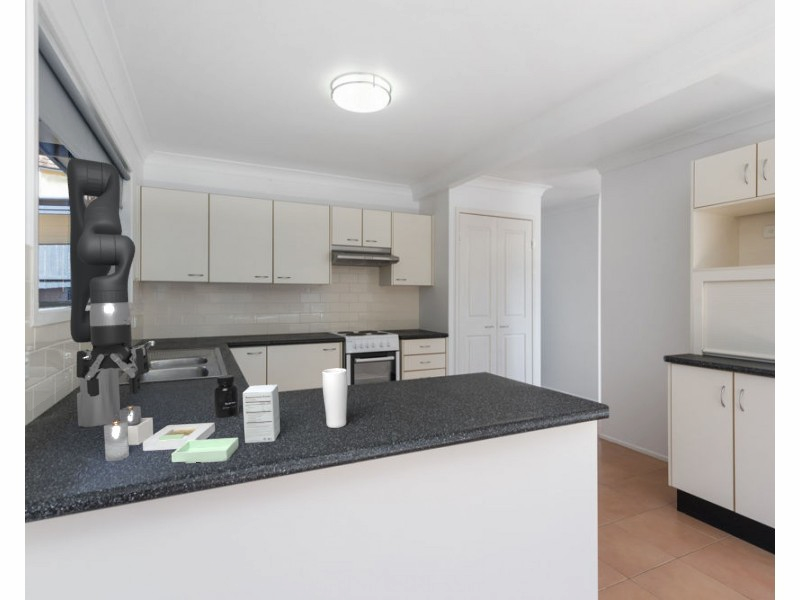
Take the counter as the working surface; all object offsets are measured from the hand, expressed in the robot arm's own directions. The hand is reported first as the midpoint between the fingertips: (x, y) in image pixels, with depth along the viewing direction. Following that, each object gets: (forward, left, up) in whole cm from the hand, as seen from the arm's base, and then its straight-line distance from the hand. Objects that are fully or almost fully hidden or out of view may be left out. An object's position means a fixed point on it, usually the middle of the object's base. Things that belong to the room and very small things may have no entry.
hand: (114, 394), depth 93 cm
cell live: (0, 0, -15) cm, 15 cm away
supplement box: (+30, +9, -15) cm, 35 cm away
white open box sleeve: (-3, +11, -15) cm, 19 cm away
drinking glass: (+48, +15, -15) cm, 52 cm away
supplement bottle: (+14, +30, -15) cm, 36 cm away
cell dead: (-3, +11, -14) cm, 18 cm away
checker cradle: (+10, +9, -15) cm, 20 cm away
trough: (+20, -1, -15) cm, 25 cm away
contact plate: (+10, +9, -15) cm, 20 cm away
